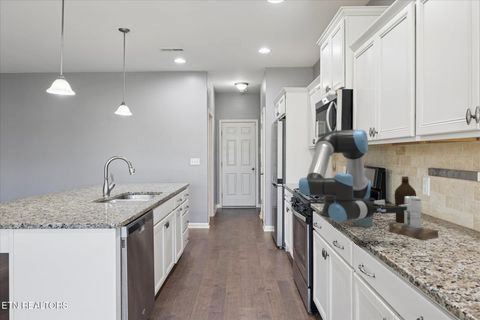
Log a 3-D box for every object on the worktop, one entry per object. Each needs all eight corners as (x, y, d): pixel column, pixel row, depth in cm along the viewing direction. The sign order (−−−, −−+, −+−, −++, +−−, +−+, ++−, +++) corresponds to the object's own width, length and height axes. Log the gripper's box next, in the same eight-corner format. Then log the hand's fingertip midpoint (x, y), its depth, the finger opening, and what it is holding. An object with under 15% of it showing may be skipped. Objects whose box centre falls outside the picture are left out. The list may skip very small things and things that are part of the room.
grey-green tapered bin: (356, 222, 182) (356, 200, 182) (376, 224, 177) (376, 202, 176) (352, 226, 173) (352, 203, 173) (372, 228, 168) (372, 204, 168)
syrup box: (403, 226, 159) (403, 196, 158) (417, 226, 158) (416, 196, 157) (407, 229, 153) (407, 197, 153) (421, 229, 152) (421, 197, 152)
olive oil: (413, 225, 173) (413, 177, 173) (391, 222, 180) (391, 176, 180) (418, 222, 181) (418, 176, 181) (398, 219, 188) (398, 175, 188)
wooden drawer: (388, 231, 161) (388, 221, 161) (403, 229, 166) (403, 219, 166) (422, 240, 145) (422, 229, 145) (438, 237, 149) (438, 226, 149)
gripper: (341, 213, 153) (374, 208, 162) (385, 223, 131) (421, 218, 140) (340, 197, 153) (374, 193, 162) (385, 204, 130) (421, 200, 139)
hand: (396, 204), depth 151 cm, fingers open, 13 cm apart
